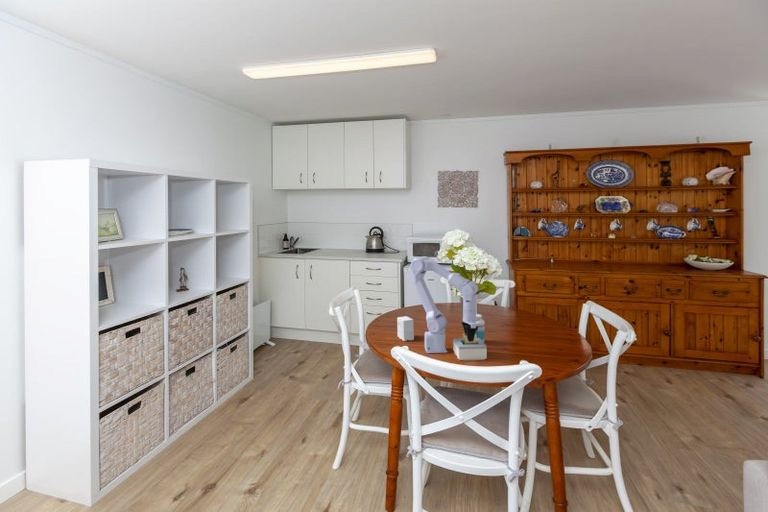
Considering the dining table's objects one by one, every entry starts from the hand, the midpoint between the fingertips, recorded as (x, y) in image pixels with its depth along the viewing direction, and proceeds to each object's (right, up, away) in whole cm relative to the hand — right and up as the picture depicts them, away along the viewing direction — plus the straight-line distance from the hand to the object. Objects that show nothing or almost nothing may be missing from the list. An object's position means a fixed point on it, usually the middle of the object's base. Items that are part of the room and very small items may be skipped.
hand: (469, 339), depth 185 cm
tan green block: (0, -2, 0) cm, 2 cm away
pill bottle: (+7, -5, +19) cm, 21 cm away
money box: (0, -7, +1) cm, 7 cm away
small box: (-27, -5, +27) cm, 38 cm away
